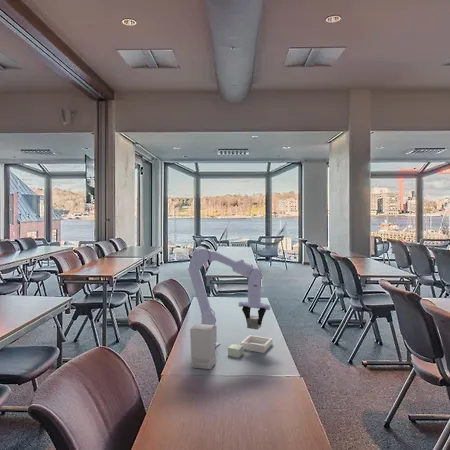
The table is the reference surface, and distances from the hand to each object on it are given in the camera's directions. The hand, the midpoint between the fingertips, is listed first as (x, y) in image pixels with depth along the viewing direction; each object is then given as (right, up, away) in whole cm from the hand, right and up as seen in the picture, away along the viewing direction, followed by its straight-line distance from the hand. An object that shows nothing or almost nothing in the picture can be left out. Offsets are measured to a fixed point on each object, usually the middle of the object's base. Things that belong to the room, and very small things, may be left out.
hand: (254, 323), depth 170 cm
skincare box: (-22, -11, -23) cm, 33 cm away
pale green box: (-9, -10, -11) cm, 17 cm away
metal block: (0, -2, 0) cm, 2 cm away
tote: (+1, -10, -2) cm, 10 cm away
